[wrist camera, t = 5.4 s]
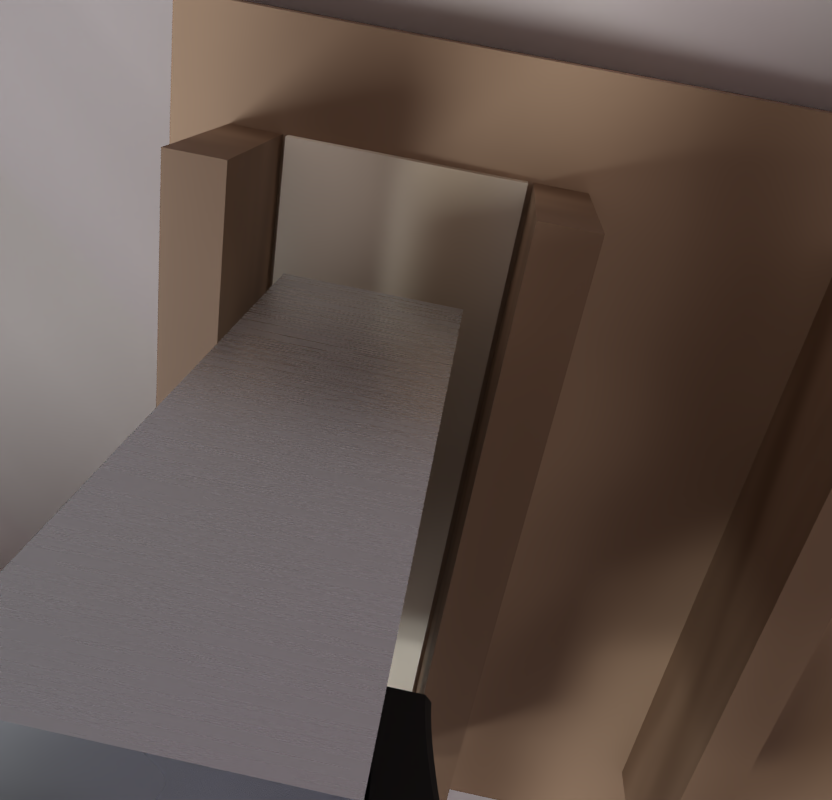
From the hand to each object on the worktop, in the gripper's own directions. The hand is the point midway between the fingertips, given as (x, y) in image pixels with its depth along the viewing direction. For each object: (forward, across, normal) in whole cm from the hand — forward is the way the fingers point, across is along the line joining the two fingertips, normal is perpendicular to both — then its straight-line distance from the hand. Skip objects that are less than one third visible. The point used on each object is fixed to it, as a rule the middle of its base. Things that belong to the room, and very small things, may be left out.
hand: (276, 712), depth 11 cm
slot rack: (+7, -6, 0) cm, 9 cm away
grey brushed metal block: (+4, 0, 0) cm, 4 cm away
